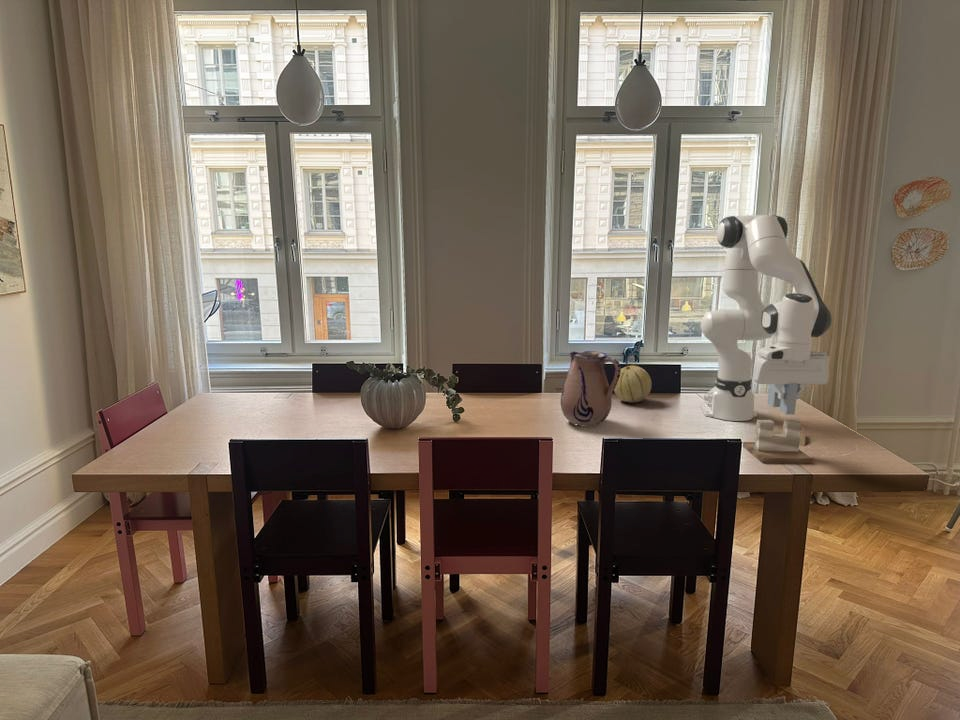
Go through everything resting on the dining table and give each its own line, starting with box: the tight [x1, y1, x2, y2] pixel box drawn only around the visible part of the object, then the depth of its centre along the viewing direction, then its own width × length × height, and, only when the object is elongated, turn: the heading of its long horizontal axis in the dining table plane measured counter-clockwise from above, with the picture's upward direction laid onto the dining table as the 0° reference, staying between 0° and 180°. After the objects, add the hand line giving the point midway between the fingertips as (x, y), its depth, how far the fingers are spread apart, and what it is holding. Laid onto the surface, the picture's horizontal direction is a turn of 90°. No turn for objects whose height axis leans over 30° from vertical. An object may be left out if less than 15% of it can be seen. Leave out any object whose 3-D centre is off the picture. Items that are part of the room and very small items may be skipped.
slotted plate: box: [767, 384, 798, 416], centre depth 179 cm, size 12×2×9 cm, turn 179°
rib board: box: [742, 419, 813, 464], centre depth 182 cm, size 14×14×10 cm
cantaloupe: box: [613, 365, 652, 404], centre depth 239 cm, size 15×15×15 cm
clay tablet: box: [773, 427, 806, 447], centre depth 198 cm, size 14×10×3 cm
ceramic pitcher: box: [560, 350, 622, 427], centre depth 210 cm, size 18×21×25 cm
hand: (788, 398), depth 175 cm, fingers closed on slotted plate, 2 cm apart
